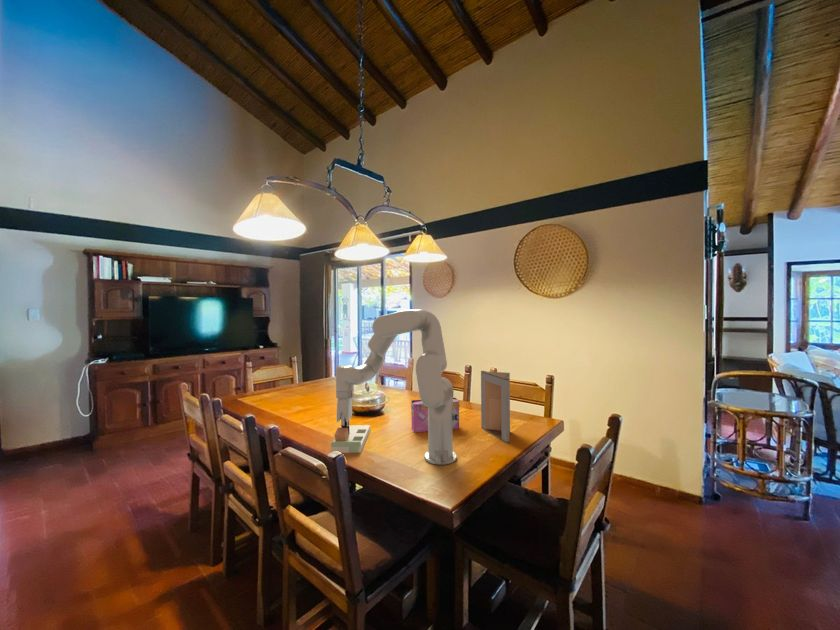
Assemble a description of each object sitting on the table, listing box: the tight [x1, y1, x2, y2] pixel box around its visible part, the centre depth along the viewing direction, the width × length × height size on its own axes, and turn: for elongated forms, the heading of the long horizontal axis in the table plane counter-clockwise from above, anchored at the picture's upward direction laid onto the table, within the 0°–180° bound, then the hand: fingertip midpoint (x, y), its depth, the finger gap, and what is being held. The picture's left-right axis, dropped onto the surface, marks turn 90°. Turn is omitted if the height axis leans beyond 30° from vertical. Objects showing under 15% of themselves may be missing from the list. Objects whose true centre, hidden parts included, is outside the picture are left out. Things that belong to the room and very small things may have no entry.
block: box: [334, 427, 349, 441], centre depth 148 cm, size 4×4×4 cm
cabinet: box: [480, 370, 511, 444], centre depth 162 cm, size 21×10×28 cm, turn 21°
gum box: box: [410, 397, 460, 433], centre depth 171 cm, size 24×8×14 cm, turn 100°
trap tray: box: [330, 424, 371, 454], centre depth 156 cm, size 26×12×4 cm, turn 0°
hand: (345, 435), depth 152 cm, fingers closed
